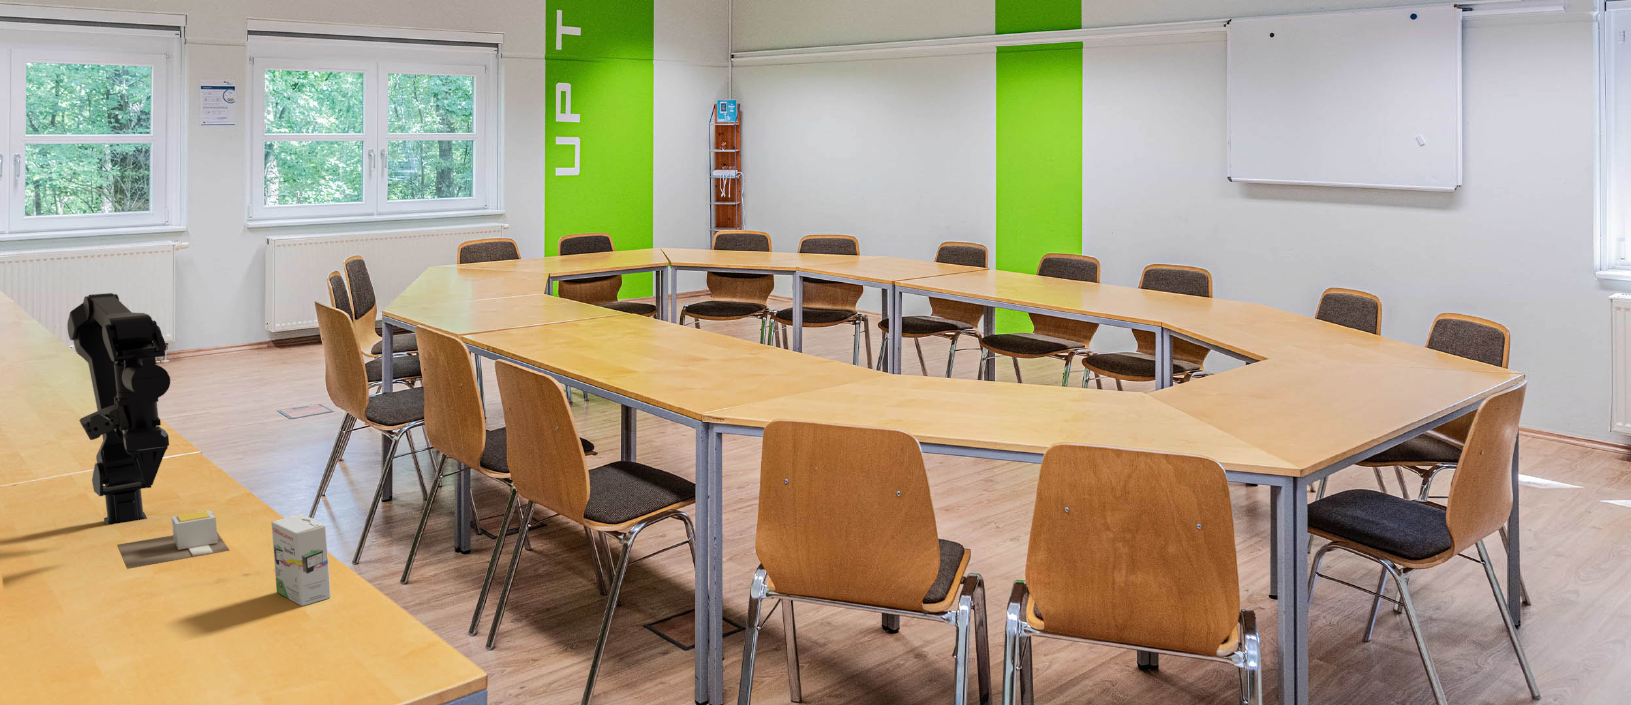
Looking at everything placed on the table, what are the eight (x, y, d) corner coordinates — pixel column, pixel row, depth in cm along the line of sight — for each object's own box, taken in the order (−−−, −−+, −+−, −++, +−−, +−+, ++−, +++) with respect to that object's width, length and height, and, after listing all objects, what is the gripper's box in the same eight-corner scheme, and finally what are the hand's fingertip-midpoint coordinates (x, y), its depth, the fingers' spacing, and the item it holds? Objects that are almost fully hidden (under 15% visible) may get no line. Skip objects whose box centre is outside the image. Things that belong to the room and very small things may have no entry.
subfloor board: (118, 551, 203) (117, 543, 203) (215, 534, 212) (214, 527, 212) (128, 575, 192) (127, 567, 192) (230, 557, 201) (229, 549, 200)
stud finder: (173, 541, 204) (171, 515, 203) (212, 535, 207) (210, 509, 207) (178, 549, 200) (175, 522, 199) (217, 542, 203) (215, 516, 203)
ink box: (275, 593, 185) (269, 520, 183) (306, 584, 189) (300, 512, 187) (301, 607, 180) (295, 532, 177) (332, 597, 183) (327, 524, 181)
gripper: (75, 385, 204) (85, 473, 207) (86, 405, 189) (96, 500, 192) (149, 378, 210) (157, 463, 213) (165, 397, 196) (173, 488, 198)
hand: (145, 478), depth 204 cm, fingers open, 9 cm apart
